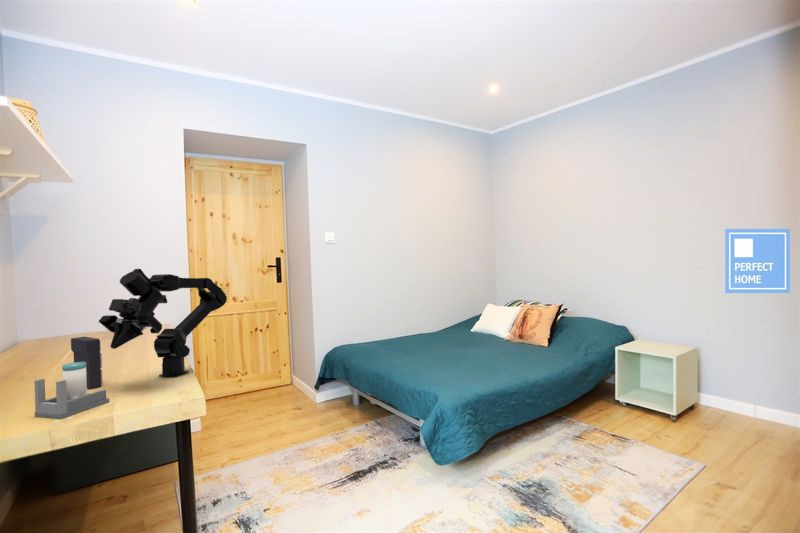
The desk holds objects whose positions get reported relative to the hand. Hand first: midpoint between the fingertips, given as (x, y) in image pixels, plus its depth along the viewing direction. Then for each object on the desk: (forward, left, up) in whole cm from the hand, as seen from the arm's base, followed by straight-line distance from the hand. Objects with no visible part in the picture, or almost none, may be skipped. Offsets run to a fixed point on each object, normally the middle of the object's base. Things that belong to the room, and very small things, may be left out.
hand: (112, 347), depth 113 cm
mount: (+11, -1, -14) cm, 17 cm away
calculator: (-7, -17, -14) cm, 24 cm away
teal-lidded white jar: (+11, -1, -12) cm, 16 cm away
